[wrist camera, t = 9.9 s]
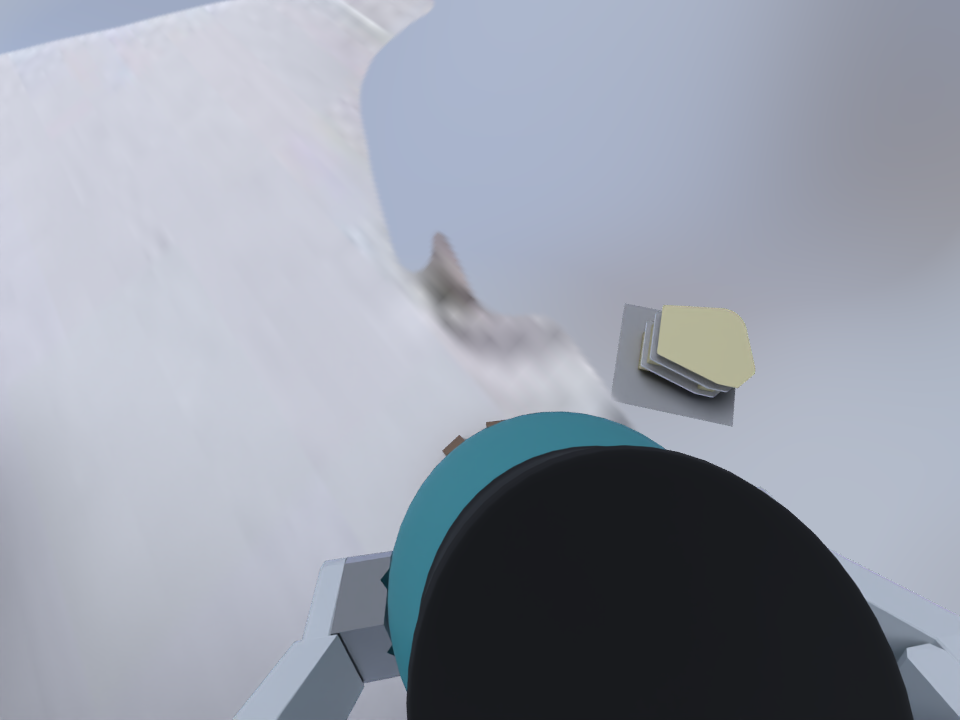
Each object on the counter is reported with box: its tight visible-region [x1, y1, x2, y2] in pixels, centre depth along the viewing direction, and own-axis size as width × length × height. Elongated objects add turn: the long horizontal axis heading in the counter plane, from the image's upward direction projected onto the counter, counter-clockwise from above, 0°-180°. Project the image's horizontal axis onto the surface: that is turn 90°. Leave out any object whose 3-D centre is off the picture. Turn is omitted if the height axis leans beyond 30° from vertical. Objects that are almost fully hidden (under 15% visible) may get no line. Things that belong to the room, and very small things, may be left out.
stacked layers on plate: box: [611, 303, 755, 427], centre depth 34 cm, size 10×9×6 cm
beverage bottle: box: [388, 412, 914, 720], centre depth 12 cm, size 6×7×20 cm
